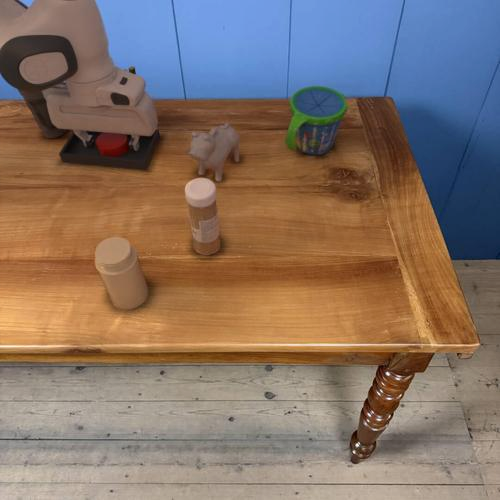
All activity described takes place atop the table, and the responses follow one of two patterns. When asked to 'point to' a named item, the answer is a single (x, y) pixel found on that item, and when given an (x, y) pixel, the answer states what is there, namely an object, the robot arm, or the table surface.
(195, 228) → the sprinkles bottle
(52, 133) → the beverage cup
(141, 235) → the table surface
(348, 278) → the table surface
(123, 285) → the jar
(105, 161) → the tray
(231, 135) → the dog figurine
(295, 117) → the snack cup
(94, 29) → the robot arm
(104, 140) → the lid
